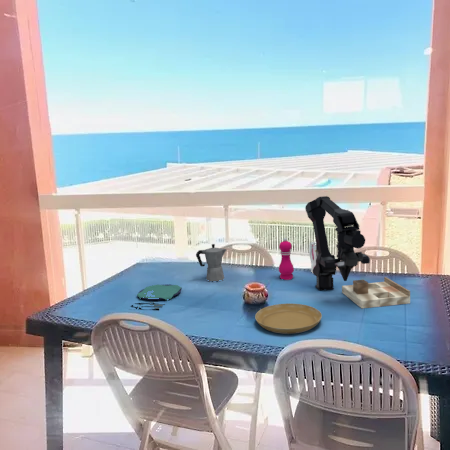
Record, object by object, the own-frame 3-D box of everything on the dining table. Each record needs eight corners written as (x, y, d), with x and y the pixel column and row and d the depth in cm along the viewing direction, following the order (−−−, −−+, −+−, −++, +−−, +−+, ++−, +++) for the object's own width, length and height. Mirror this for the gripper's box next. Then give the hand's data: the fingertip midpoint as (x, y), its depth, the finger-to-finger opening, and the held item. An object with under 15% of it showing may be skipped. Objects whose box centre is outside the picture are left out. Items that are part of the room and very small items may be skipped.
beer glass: (325, 270, 231) (324, 241, 228) (322, 274, 225) (321, 244, 222) (311, 269, 234) (311, 241, 231) (308, 273, 228) (307, 244, 225)
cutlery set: (187, 288, 216) (187, 283, 215) (162, 312, 187) (162, 307, 187) (149, 287, 221) (148, 283, 221) (119, 311, 193) (118, 306, 192)
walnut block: (357, 294, 185) (357, 283, 184) (353, 291, 189) (353, 280, 188) (368, 293, 185) (368, 282, 185) (363, 289, 190) (363, 279, 189)
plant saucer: (276, 342, 152) (275, 333, 152) (244, 319, 174) (244, 311, 174) (335, 327, 162) (335, 318, 161) (298, 307, 183) (298, 299, 183)
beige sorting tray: (361, 308, 177) (361, 296, 177) (342, 292, 197) (341, 281, 196) (410, 303, 180) (410, 291, 179) (385, 288, 199) (385, 277, 199)
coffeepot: (226, 275, 233) (224, 240, 230) (230, 280, 224) (228, 244, 221) (196, 278, 230) (193, 244, 227) (199, 284, 221) (196, 247, 218)
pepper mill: (284, 281, 218) (283, 240, 214) (276, 277, 224) (274, 237, 220) (297, 278, 221) (295, 238, 217) (288, 275, 227) (287, 235, 224)
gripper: (329, 249, 174) (330, 289, 177) (376, 245, 176) (376, 284, 179) (319, 243, 185) (320, 280, 187) (363, 239, 187) (363, 276, 190)
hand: (345, 280), depth 186 cm, fingers closed
